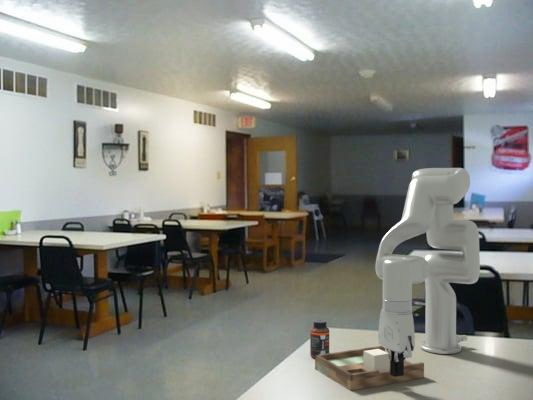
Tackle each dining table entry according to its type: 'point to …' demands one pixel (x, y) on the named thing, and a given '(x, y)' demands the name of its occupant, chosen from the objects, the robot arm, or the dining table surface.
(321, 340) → the supplement bottle
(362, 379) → the tray
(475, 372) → the dining table surface
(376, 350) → the block
